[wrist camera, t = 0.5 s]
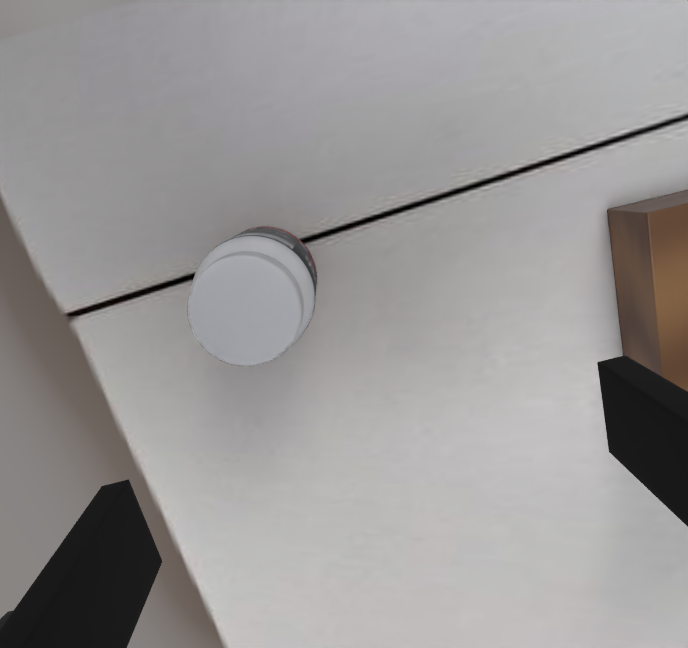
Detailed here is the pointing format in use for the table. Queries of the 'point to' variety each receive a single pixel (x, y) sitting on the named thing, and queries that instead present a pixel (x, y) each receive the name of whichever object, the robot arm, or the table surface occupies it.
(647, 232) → the shelf
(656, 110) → the table surface
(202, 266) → the pill bottle
